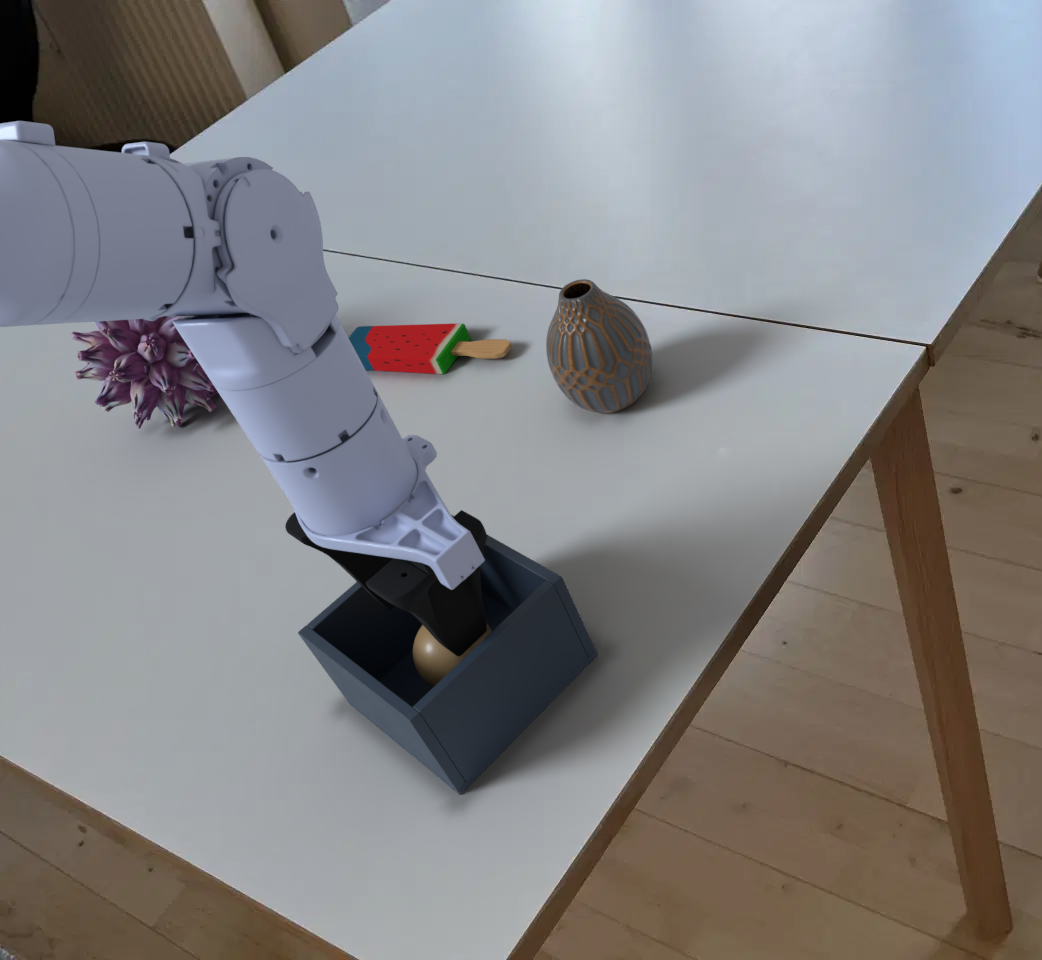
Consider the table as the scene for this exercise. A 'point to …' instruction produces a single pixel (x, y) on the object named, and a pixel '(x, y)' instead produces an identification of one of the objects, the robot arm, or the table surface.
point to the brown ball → (436, 656)
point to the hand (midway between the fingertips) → (434, 617)
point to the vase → (597, 349)
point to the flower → (144, 368)
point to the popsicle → (420, 347)
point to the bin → (458, 666)
